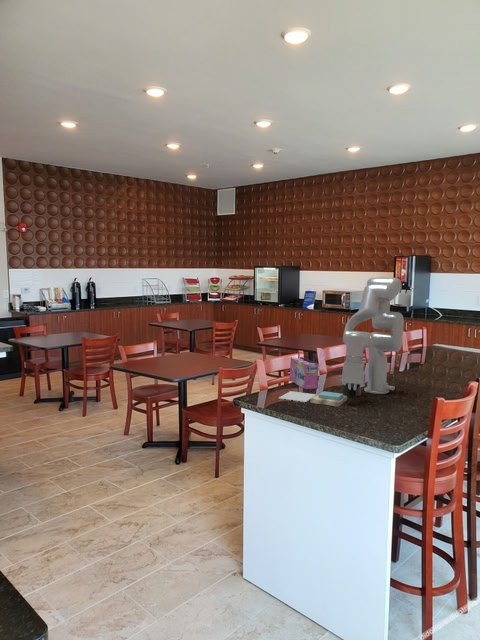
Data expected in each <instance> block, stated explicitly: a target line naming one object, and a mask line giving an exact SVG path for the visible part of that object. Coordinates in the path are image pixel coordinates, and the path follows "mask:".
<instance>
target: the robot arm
mask: <svg viewBox="0 0 480 640" xmlns="http://www.w3.org/2000/svg"><path fill="white" fill-rule="evenodd" d="M401 289H402V281H401V279H399V278H397V277H381V276H380V277H379V276H378V277H371V278H368V279H367V281H366V285H365V287H364V289H363V292H362V296H361V300H360V304H359V308H358V311H357V312H355V313H354V314H352V316H351V317H350V318H349V319H348V320H347V321H346V323H345V327H344V330H343V334H342V335H343V336H342V341H343V344H344V345H345V346H346V348H345V349H346V351H345V352H346V353H345V361H344V362H343V367H342V373H341V374H342V375H341V385H342V384H343V385H346V386H347V387H348V389H349V396H348V397H349V398H350V399H355V398H356V397H357V396H356V389H358V388H359V387H361V388H363V387H364V389H363V390H364V391H365V392H366V393H370V394H374V395H375V394H376V395H377V394H380V395H383V394H384V395H385V394H388V393H389V392H390V390H391V391H395V386H394V385H389V383H388V382H387V377H388V376H387V373H388V372H387V371H388V370H387V368H388V357H387V355H386V353H385V352H399V351H401V350H402V346H403V338H404V337H403V336H404V325H405V324H404V323H405V320H404V315H403V313H401V312H398V311H396V312H395V311H390V309H391V301H393V300H394V299H395V298H396V297H397V296H398V295H399V294H400V292H401ZM370 319H371V326H372V328H374V329H377V330H385V331H392V332H385V331H373V332H368V331H360V330H359V331H358V330H357V331H356V330H354V329H355V327H356V326H358V325H359V324H360V323H363V322H365V321H368V320H370ZM365 348H366V349H368V350H367V351H368V360H367V361H368V362H367V363H368V364H367V384H366V385H367V386H366V385H365V382H366V368H365V361H366V357H364V356H363V353H364V349H365ZM384 351H385V352H384ZM352 384H354V388H352Z"/></svg>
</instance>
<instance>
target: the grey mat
mask: <svg viewBox="0 0 480 640" xmlns="http://www.w3.org/2000/svg"><path fill="white" fill-rule="evenodd" d="M315 395H316V393H307V392H299V391H291V390H289V391H288V392H287V393H285V394H283V395H280V396H279V397H278V400H284V399H286V400H285V401H291V400H293V401H292V402H298V401H300V402H299V403H305V402H306V403H307V402H309V401H310V398H312V397H313V396H315Z"/></svg>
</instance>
